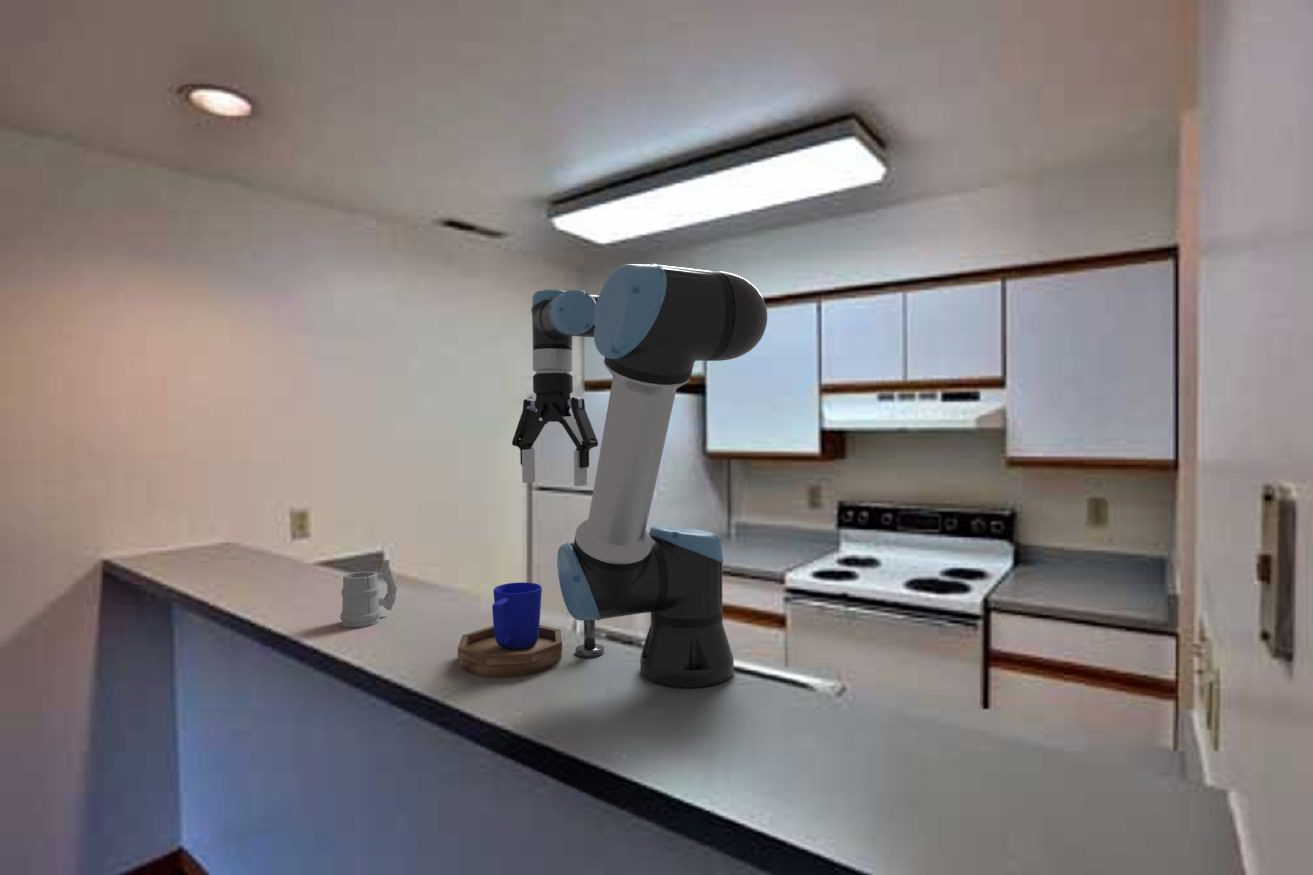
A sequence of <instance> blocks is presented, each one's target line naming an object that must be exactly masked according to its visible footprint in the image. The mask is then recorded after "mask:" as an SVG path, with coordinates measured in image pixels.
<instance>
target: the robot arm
mask: <svg viewBox="0 0 1313 875" xmlns="http://www.w3.org/2000/svg"><path fill="white" fill-rule="evenodd" d="M531 304H532V305H531V306H532V307H531V309H530V311H531V316H532V318H531V319H532V320H531V323H532V324H531V326H532V370H533V371H534V372H535V373H534V374H533V375H532V392H533V393H534V394H535V399H531V398H530V399H529V398H525V399H523V400H522V401H523V402H522V403H523V404H522V412H521V414H520V417H519V421H518V424H517V427H516V430H515V432H514V435H513V438H512V442H511V446H514V447H518V449H519V450H520V452H519V456H520V458H519V460H520V461H519V462H520V463H519V464H520V466H521V467H522V468H521V470H522V471H521V472H522V474H521V475H522V480H521V481H522V482H521V483H522V484H530V483H536V452H535V450H536V449H534V448H535V447H534V444H535V442H536V441H537V439H538V437H539V436H540V434H541V432H542V431H543V428H544V427H545V425H547V424H548V423H552V422H553V423H554V422H558V423H559V424H561V425H562V427H563V428H564V430H565V432H566V433H567V435H568V436H569V438H570V439H571V441H572V443H573V445H574V446H575V447H576V448H575V449H574V450H573V480H574V481H573V483H574V484H573V485H574V487H583V486H587V485H588V468H590V467H589V466H590V450H591V449H593V448H595V447H598V446H599V441H598V438H597V436H596V433H595V432H594V427H593V426H592V423H591V420H590V418H589V416H588V413H587V411H586V407H585V406H586V403H585V398H583V397H578V396H576V397H571V394H572V393H573V391H574V388H573V385H574V383H573V382H574V381H573V380H574V378H573V375H572V374H570V372H572V371H573V337H583V338H593V340H594V345H595V348H596V350H597V351H598V353H599V354H600V355H601V356H603V357H604V359H603V363H604V366H605V368H606V369H607V370H608V371H609V373H610V374H611V376H612V381H611V388H610V392H609V398H608V404H607V411H606V416H605V421H604V426H603V434H602V438H601V445H600V450H599V456H598V462H597V467H596V474H595V478H594V485H593V490H592V496H591V501H590V507H589V513H588V519H585V520H583V521H582V522H581V523H580V524H579V525H578V526H577V528H576V530H575V535H574V541H573V542H568V541H567V542H566V543H564V544H563V543H562V545H561V546H559V548H558V550H557V554H556V559H557V560H556V561H557V563H556V565H557V575H558V581H559V588H560V591H561V596H562V599H563V602H564V604H565V607H566V610H567V611H568V613H569V615H571V617H572V618H573V619H574V620H577V621H583V622H584V620H595V621H601V620H604V619H612V618H618V617H619V618H620V617H626V616H634V615H639V614H646V613H650V625H649V628H648V632H647V634H646V638H645V642H644V645H643V648H642V651H641V653H640V660H639V661H640V663H639V666H640V670H639V671H640V674H641V675H642V677H643V678H645V679H646V680H648V681H649V682H652V683H655V684H658V685H662V686H667V687H674V688H703V687H710V686H714V685H718V684H721V683H723V682H725V681H728V680H730V679H731V677H733V675H734V671H735V670H734V669H735V668H734V667H735V665H734V663H735V662H734V654H733V652H732V650H731V645H730V643H729V639H728V637H727V634H726V629H725V628H724V624H723V623H724V622H723V564H724V558H723V548H722V541H721V538H720V536H718V535H717V534H715V533H714V532H711V531H707V530H704V529H697V528H690V527H683V526H675V525H674V526H670V525H657V526H656V525H654V526H651V527H650V529H649V532H648V531H647V530H646V529H647V526H648V521H649V516H650V511H651V507H652V502H653V499H654V498H653V497H654V493H655V489H656V485H657V480H658V474H659V470H660V465H661V461H662V457H663V453H664V452H663V451H664V447H665V443H666V439H667V433H668V430H669V426H670V420H671V416H672V410H673V406H674V401H675V397H676V393H677V390H678V388H680V387H682V386H684V385H686V384H687V383H689V381H690V380H691V378H692V372H693V369H694V366H695V365H694V364H695V362H698V361H699V362H700V361H706V362H708V361H709V362H719V361H720V362H723V361H728V360H732V359H736V358H737V359H738V358H740V357H742V356H744V355H745V354H747V353H749V352H751V351H752V350H753V348H755V347H756V346H757V345H758V344H759V342H761V339H762V338H763V336H764V333H765V331H766V327H767V322H768V308H767V305H766V301H765V300H764V298H763V295H762V293H761V292H760V291H759V289H758V288H757V287H756V286H755V285H753V283H752V282H750V281H749V280H748V279H746V278H744V277H742V276H740V275H737V274H735V273H731V272H727V271H720V270H715V271H714V270H704V269H695V268H690V267H689V268H688V267H680V266H671V265H670V266H669V265H663V264H657V263H647V264H642V263H641V264H639V263H636V264H635V263H627V264H623V265H621V266H619V267H617V268H616V269H615V270H614V271H612V273H610V275H609V276H608V277H607V279H606V280H605V282H604V284H603V286H602V288H601V289H600V293H599V295H597V294H589V293H588V292H586V291H584V290H582V289H576V288H573V289H568V290H562V289H542V290H537V291H536V292H534V293H533V295H532V303H531ZM570 410H571V411H570Z"/></svg>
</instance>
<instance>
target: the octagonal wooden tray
mask: <svg viewBox="0 0 1313 875" xmlns="http://www.w3.org/2000/svg"><path fill="white" fill-rule="evenodd" d="M562 651H563V638H562V631H561V629H559V628H555V627H550V626H546V625H540V624H539V637H538V640H537V642H536V644H535V645H533V646H531V647H529V648H525V649H506V648H503V647H502V646H500V645H498V644H497V642H496V639H495V634H494V625H491V626H489V627H484V628H482V629H478V630H475V631H472V632H469V633H466V634H463V635H461V639H460V640H459V643H458V647H457V658H458V659H459V666H460V668H461V669H462V670H463V671H464V672H465V673H466V672H467V673H469V674H472V675H475V676H481V677H488V678H489V677H490V678H510V677H512V678H513V677H519V676H526V675H527V676H528V675H531V674H536V673H539V672H543V671H546V670H549V669H551V668H553V667H554V666H556V665H557V664H558V663H560V661H561V659H562V654H563V653H562Z"/></svg>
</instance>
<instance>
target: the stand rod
mask: <svg viewBox="0 0 1313 875" xmlns="http://www.w3.org/2000/svg"><path fill="white" fill-rule="evenodd" d="M574 651H575V652H574V653H575V655H576V656H577V657H581V658H596V657H599V656H602V655H604V653H605V647H604V645H602V644H598V643H596V620H583V644H580V645H577V646H575V650H574Z"/></svg>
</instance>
